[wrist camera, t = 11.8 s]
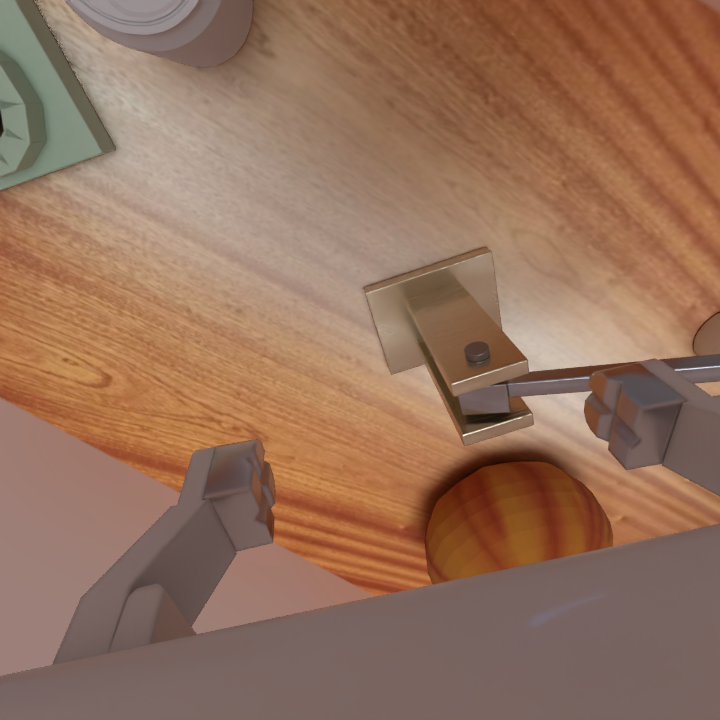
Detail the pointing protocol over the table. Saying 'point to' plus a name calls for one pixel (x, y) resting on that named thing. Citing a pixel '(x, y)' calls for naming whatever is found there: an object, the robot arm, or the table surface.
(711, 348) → the candle
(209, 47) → the beverage can
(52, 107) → the control block
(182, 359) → the table surface
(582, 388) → the lever
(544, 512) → the pumpkin
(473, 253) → the bracket
